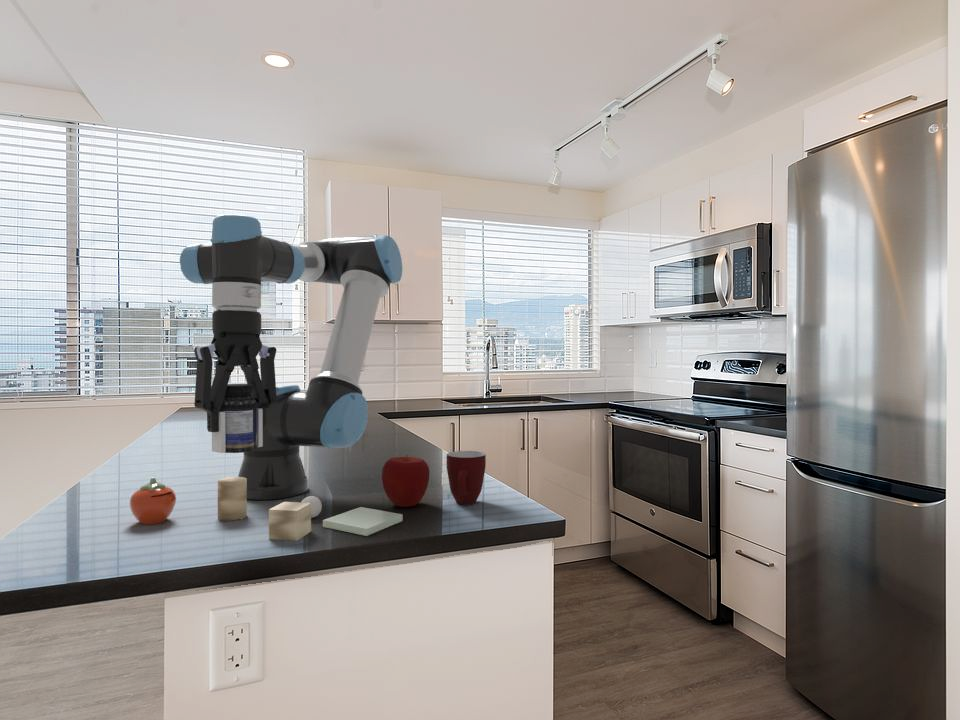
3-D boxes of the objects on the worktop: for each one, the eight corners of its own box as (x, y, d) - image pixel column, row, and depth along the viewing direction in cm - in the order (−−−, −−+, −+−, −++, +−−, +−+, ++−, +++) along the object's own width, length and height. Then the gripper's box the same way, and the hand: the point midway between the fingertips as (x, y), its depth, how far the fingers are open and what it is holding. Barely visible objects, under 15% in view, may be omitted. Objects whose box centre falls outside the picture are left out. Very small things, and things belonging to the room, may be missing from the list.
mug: (486, 511, 113) (486, 460, 113) (444, 511, 113) (445, 460, 112) (484, 497, 123) (485, 450, 123) (447, 497, 123) (447, 450, 123)
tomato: (145, 530, 100) (144, 484, 100) (120, 523, 104) (120, 479, 103) (185, 519, 106) (184, 476, 106) (160, 513, 110) (160, 471, 110)
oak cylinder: (211, 518, 107) (211, 480, 107) (234, 512, 111) (234, 475, 111) (229, 522, 105) (229, 484, 104) (252, 515, 109) (252, 478, 109)
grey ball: (294, 518, 107) (294, 497, 107) (310, 513, 110) (310, 492, 110) (310, 522, 105) (310, 500, 105) (326, 516, 108) (326, 495, 108)
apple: (431, 510, 113) (431, 459, 113) (381, 512, 111) (381, 461, 111) (427, 498, 122) (427, 451, 122) (381, 500, 121) (381, 452, 120)
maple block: (269, 539, 96) (268, 509, 96) (284, 530, 100) (283, 501, 100) (297, 541, 95) (297, 510, 95) (310, 531, 100) (310, 503, 100)
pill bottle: (227, 447, 100) (227, 383, 99) (262, 447, 99) (263, 383, 99) (210, 453, 93) (210, 385, 93) (247, 454, 93) (248, 385, 93)
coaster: (322, 526, 102) (322, 520, 102) (360, 513, 111) (360, 506, 111) (366, 535, 97) (366, 528, 97) (402, 520, 106) (402, 514, 106)
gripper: (192, 305, 86) (193, 460, 86) (299, 312, 102) (299, 443, 102) (167, 307, 90) (168, 454, 91) (273, 313, 106) (273, 439, 106)
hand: (237, 448), depth 96 cm, fingers closed on pill bottle, 6 cm apart
